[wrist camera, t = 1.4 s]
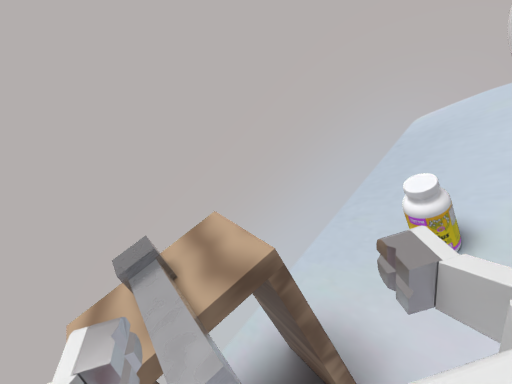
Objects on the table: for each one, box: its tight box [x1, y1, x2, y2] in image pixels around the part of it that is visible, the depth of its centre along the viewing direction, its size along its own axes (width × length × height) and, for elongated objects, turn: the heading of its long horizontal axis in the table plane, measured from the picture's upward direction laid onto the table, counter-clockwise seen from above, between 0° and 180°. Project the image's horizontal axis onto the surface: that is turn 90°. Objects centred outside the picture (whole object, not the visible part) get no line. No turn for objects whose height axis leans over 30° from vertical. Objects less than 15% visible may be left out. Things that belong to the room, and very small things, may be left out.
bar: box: [112, 236, 241, 384], centre depth 26 cm, size 4×20×4 cm, turn 30°
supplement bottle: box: [402, 173, 461, 252], centre depth 51 cm, size 7×7×13 cm
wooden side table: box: [67, 212, 356, 384], centre depth 38 cm, size 20×14×26 cm
